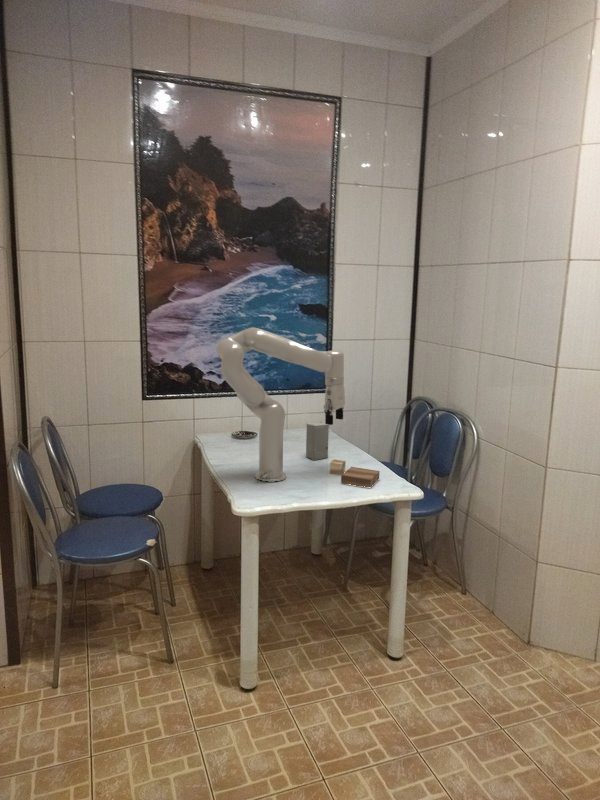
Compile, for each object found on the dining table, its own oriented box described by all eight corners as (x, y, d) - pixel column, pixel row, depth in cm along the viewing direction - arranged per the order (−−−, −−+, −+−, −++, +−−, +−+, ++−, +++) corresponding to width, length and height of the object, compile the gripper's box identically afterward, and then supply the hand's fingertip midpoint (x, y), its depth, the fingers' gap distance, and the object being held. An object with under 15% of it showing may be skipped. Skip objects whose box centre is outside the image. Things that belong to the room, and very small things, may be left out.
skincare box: (313, 460, 262) (314, 426, 259) (304, 456, 268) (305, 422, 264) (329, 458, 266) (330, 424, 263) (319, 454, 272) (320, 420, 269)
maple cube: (341, 475, 243) (341, 464, 242) (329, 473, 245) (330, 462, 244) (345, 472, 248) (345, 460, 247) (334, 470, 250) (334, 459, 249)
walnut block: (370, 489, 228) (370, 479, 228) (340, 484, 233) (341, 475, 232) (379, 480, 239) (379, 471, 238) (351, 475, 244) (351, 466, 243)
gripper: (333, 385, 232) (333, 427, 235) (351, 378, 246) (351, 418, 250) (316, 383, 235) (316, 425, 239) (335, 376, 250) (335, 416, 254)
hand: (334, 421), depth 244 cm, fingers open, 9 cm apart
